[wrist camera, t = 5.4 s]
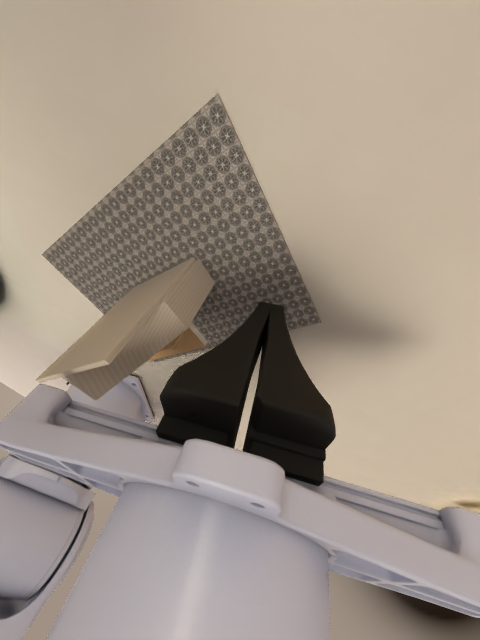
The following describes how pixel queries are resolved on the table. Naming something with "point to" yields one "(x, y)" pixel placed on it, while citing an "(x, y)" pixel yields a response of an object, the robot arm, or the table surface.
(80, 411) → the robot arm
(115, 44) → the table surface
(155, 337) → the architectural model
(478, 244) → the table surface
